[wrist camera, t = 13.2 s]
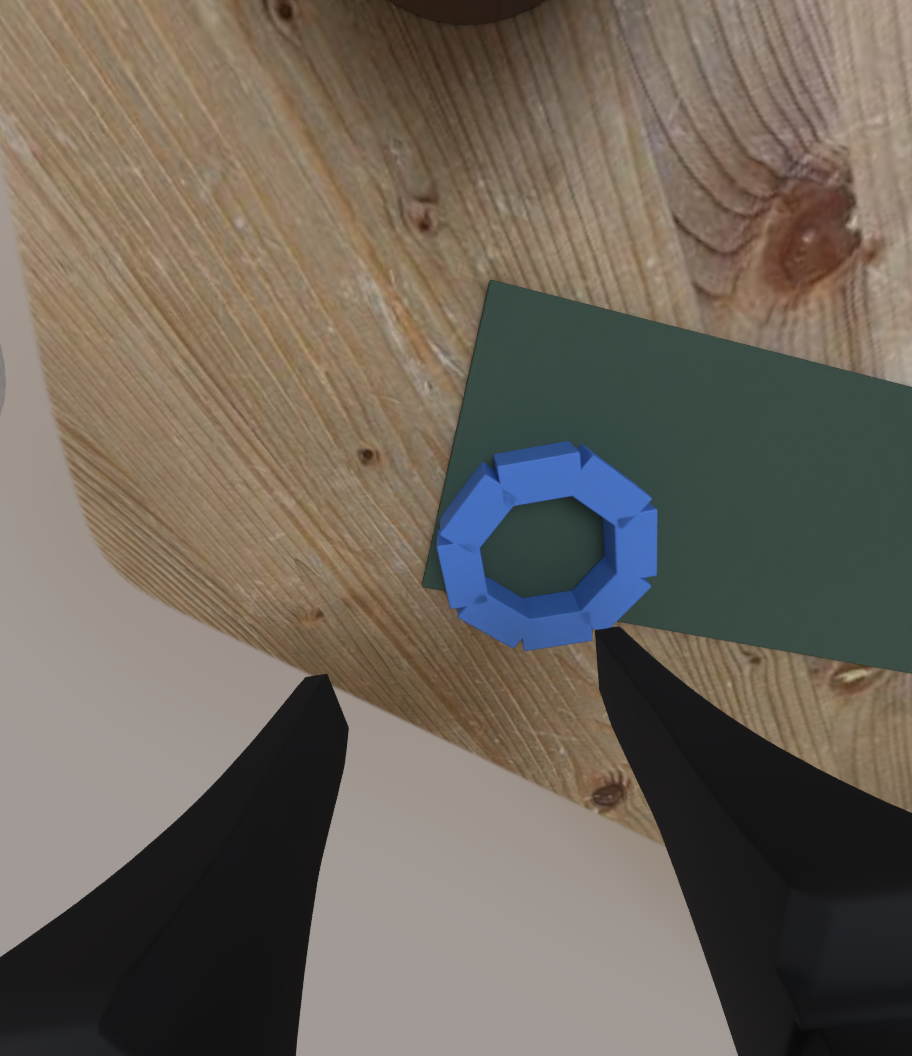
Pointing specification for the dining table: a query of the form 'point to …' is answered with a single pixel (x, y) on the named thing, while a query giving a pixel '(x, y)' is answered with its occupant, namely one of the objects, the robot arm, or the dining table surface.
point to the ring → (533, 481)
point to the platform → (467, 9)
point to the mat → (701, 476)
